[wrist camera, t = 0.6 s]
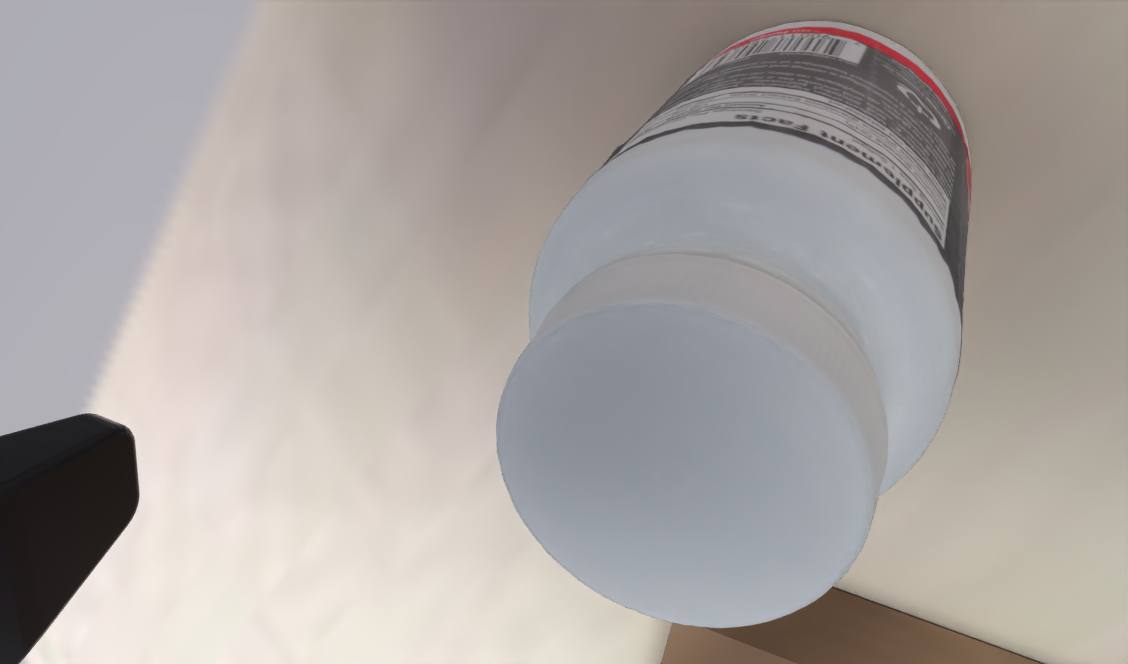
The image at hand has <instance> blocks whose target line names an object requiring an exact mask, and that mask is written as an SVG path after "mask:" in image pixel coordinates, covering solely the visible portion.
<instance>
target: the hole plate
mask: <svg viewBox="0 0 1128 664" xmlns="http://www.w3.org/2000/svg"><path fill="white" fill-rule="evenodd" d="M661 664H1041V663H1038V662H1035V661H1033V660H1030V659H1027V658H1024V657H1022V656H1019V655H1016V654H1013V653H1011V652H1008V651H1005V650H1002V649H1000V648H997V647H994V646H991V645H989V644H986V643H983V642H980V641H978V640H975V639H972V638H969V637H967V636H964V635H961V634H958V633H956V632H953V631H950V630H947V629H945V628H942V627H939V626H936V625H934V624H931V623H928V622H925V621H923V620H920V619H917V618H914V617H912V616H909V615H906V614H903V613H901V612H898V611H895V610H892V609H890V608H887V607H884V606H881V605H879V604H876V603H873V602H870V601H868V600H865V599H862V598H859V597H857V596H854V595H851V594H848V593H846V592H843V591H840V590H837V589H835V588H832V587H831V588H830V589H829V590H828V591H827V592H826V593H825V594H824V595H822V596H821V597H820V598H818V599H817V600H815V601H814V602H812V603H810V604H809V605H807V606H805V607H803V608H801V609H799V610H797V611H795V612H793V613H791V614H788V615H785V616H783V617H780V618H777V619H774V620H771V621H768V622H764V623H759V624H755V625H748V626H741V627H731V628H709V627H698V626H693V625H683V624H678V623H674V622H673V624H672V627H671V631H670V634H669V637H668V641H667V644H666V648H665V651H664V655H663V658H662V662H661Z"/></svg>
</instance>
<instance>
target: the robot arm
mask: <svg viewBox="0 0 1128 664" xmlns="http://www.w3.org/2000/svg"><path fill="white" fill-rule="evenodd" d="M138 502H139V482H138V470H137V459H136V447H135V439H134V436H133V434H132V432H131V431H130V429H129V428H127V427H126V426H125V425H122V424H120V423H117V422H115V421H112V420H109V419H107V418H104V417H102V416H99V415H97V414H90V413H88V414H81V415H76V416H73V417H69V418H66V419H62V420H58V421H54V422H51V423H47V424H43V425H40V426H36V427H32V428H28V429H25V430H21V431H18V432H14V433H10V434H6V435H3V436H0V664H19V663H20V662H21V661H22V660H23V659H24V658H25V656H26V655H27V654H28V653H29V652H30V650H31V649H32V648H33V647H34V645H35V644H36V643H37V642H38V641H39V639H40V638H41V637H42V636H43V635H44V633H45V632H46V631H47V629H48V628H49V627H50V625H51V624H52V623H53V622H54V620H55V619H56V618H57V616H58V615H59V614H60V612H61V611H62V610H63V609H64V607H65V606H66V605H67V603H68V602H69V601H70V600H71V598H72V597H73V596H74V594H75V593H76V592H77V590H78V589H79V588H80V587H81V585H82V584H83V583H84V581H85V580H86V579H87V577H88V576H89V575H90V574H91V572H92V571H93V570H94V568H95V567H96V566H97V564H98V563H99V562H100V561H101V559H102V558H103V557H104V555H105V554H106V553H107V552H108V550H109V549H110V548H111V546H112V545H113V544H114V542H115V541H116V540H117V539H118V537H119V536H120V535H121V533H122V532H123V531H124V529H125V528H126V527H127V526H128V524H129V523H130V521H131V520H132V518H133V516H134V514H135V512H136V509H137V506H138Z"/></svg>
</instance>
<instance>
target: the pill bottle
mask: <svg viewBox="0 0 1128 664" xmlns="http://www.w3.org/2000/svg"><path fill="white" fill-rule="evenodd" d="M971 172H972V168H971V156H970V150H969V144H968V138H967V133H966V130H965V126H964V123H963V121H962V118H961V116H960V113H959V111H958V108H957V106H956V105H955V103H954V101H953V100H952V98H951V96H950V95H949V93H948V91H947V90H946V88H945V87H944V85H943V84H942V83H941V82H940V81H939V80H938V78H937V77H936V76H935V75H934V74H933V73H932V71H931V70H930V69H929V68H928V67H927V66H926V65H925V64H924V63H923V62H922V61H921V60H920V59H919V58H918V57H917V56H915V55H914V54H913V53H912V52H910V51H909V50H907V49H906V48H905V47H903V46H901V45H899V44H897V43H895V42H894V41H892V40H890V39H888V38H886V37H883V36H881V35H879V34H877V33H874V32H872V31H869V30H867V29H864V28H862V27H858V26H854V25H849V24H845V23H840V22H831V21H802V22H793V23H786V24H782V25H778V26H775V27H771V28H768V29H764V30H762V31H759V32H756V33H754V34H751V35H749V36H747V37H745V38H743V39H741V40H739V41H737V42H735V43H734V44H732V45H730V46H729V47H727V48H726V49H724V50H723V51H721V52H720V53H719V54H717V55H716V56H715V57H713V58H712V59H711V60H710V61H709V62H708V63H706V64H705V65H704V66H703V67H702V68H700V69H699V70H698V71H697V72H696V73H695V74H694V75H693V76H691V77H690V78H689V79H688V80H687V81H686V82H685V83H684V85H683V86H681V87H680V88H679V90H678V91H677V92H676V93H675V94H674V95H673V96H672V97H671V98H670V99H669V100H668V101H667V102H666V103H665V104H664V105H663V106H662V107H661V108H660V109H659V110H658V111H657V112H656V113H655V114H654V115H653V116H652V117H651V118H650V119H649V120H648V121H647V122H646V123H645V124H644V125H643V126H642V127H641V128H640V129H639V130H638V131H637V132H636V133H635V134H634V135H633V136H632V137H631V138H630V139H629V140H628V141H627V142H625V143H624V144H623V145H621V146H619V147H618V148H617V149H616V150H615V151H614V152H613V154H612V155H611V156H610V158H609V159H608V160H607V162H606V163H605V164H604V165H603V166H602V167H601V168H600V169H599V170H598V171H597V172H596V173H595V174H593V175H592V176H591V177H590V178H589V179H588V180H587V182H586V183H585V184H584V186H583V187H582V188H581V189H580V191H579V192H578V193H577V194H576V195H575V196H574V198H573V199H572V200H571V201H570V202H569V204H568V205H567V207H566V208H565V209H564V211H563V212H562V213H561V215H560V216H559V218H558V219H557V221H556V223H555V224H554V226H553V227H552V229H551V231H550V233H549V235H548V237H547V239H546V241H545V243H544V246H543V248H542V251H541V253H540V256H539V258H538V262H537V265H536V268H535V271H534V275H533V280H532V286H531V294H530V303H529V323H530V343H529V345H528V346H527V347H526V349H525V350H524V351H523V353H522V354H521V355H520V357H519V359H518V361H517V362H516V364H515V366H514V368H513V370H512V372H511V374H510V376H509V378H508V380H507V383H506V385H505V388H504V391H503V394H502V396H501V400H500V404H499V409H498V415H497V425H496V435H497V453H498V457H499V462H500V466H501V471H502V476H503V479H504V482H505V484H506V487H507V489H508V492H509V494H510V497H511V500H512V502H513V504H514V506H515V508H516V510H517V512H518V514H519V515H520V517H521V519H522V520H523V522H524V523H525V525H526V526H527V528H528V529H529V530H530V532H531V533H532V535H533V536H534V537H535V538H536V539H537V541H538V542H539V543H540V544H541V545H542V546H543V548H544V549H545V550H546V552H547V553H548V554H549V555H550V556H551V557H552V558H553V559H555V560H556V561H557V562H558V563H559V564H560V565H561V566H562V567H564V568H565V569H566V570H567V571H568V572H570V573H571V574H572V575H573V576H574V577H576V578H577V579H578V580H579V581H580V582H582V583H583V584H585V585H586V586H588V587H589V588H591V589H592V590H594V591H596V592H597V593H599V594H601V595H602V596H604V597H606V598H608V599H610V600H612V601H614V602H616V603H618V604H620V605H622V606H624V607H626V608H629V609H633V610H635V611H637V612H639V613H641V614H644V615H647V616H651V617H654V618H657V619H661V620H665V621H669V622H674V623H678V624H683V625H693V626H698V627H709V628H731V627H741V626H748V625H755V624H759V623H764V622H768V621H771V620H774V619H777V618H780V617H783V616H785V615H788V614H791V613H793V612H795V611H797V610H799V609H801V608H803V607H805V606H807V605H809V604H810V603H812V602H814V601H815V600H817V599H818V598H820V597H821V596H822V595H824V594H825V593H826V592H827V591H828V590H829V589H830V588H831V587H832V586H833V585H834V584H835V583H836V582H837V581H838V580H839V579H840V578H841V577H842V576H843V575H845V574H846V573H847V571H848V570H849V568H850V567H851V565H852V564H853V562H854V560H855V559H856V557H857V556H858V554H859V552H860V551H861V549H862V547H863V545H864V543H865V541H866V539H867V536H868V532H869V529H870V526H871V523H872V520H873V517H874V513H875V509H876V505H877V500H878V497H879V496H880V495H881V494H883V493H884V492H885V491H887V490H888V489H889V488H891V487H892V486H893V485H894V484H895V483H896V482H898V481H899V480H900V479H901V478H902V477H903V476H904V475H905V474H906V473H907V472H908V471H909V470H910V469H911V468H912V467H913V466H914V464H915V463H916V462H917V461H918V460H919V458H920V457H921V456H922V454H923V453H924V452H925V450H926V449H927V447H928V446H929V444H930V443H931V441H932V440H933V438H934V436H935V434H936V432H937V430H938V428H939V426H940V424H941V422H942V419H943V417H944V415H945V412H946V410H947V408H948V405H949V401H950V398H951V394H952V390H953V387H954V384H955V381H956V378H957V374H958V370H959V363H960V354H961V345H962V307H963V299H964V298H963V291H964V275H965V256H966V244H967V232H968V221H969V210H970V201H971Z"/></svg>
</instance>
